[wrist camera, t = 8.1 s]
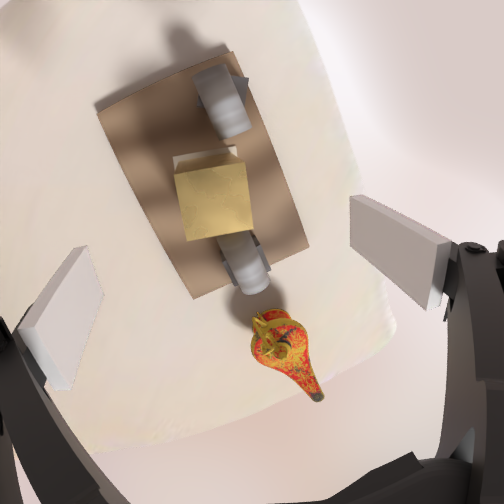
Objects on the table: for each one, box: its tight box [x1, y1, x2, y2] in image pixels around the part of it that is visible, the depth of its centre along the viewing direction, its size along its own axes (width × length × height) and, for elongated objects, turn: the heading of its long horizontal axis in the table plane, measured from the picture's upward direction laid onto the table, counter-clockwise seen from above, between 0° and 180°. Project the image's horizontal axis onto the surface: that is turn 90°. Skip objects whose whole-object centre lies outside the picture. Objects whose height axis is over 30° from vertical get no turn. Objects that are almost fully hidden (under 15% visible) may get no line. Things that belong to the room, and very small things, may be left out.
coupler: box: [174, 152, 254, 241], centre depth 26 cm, size 5×5×8 cm
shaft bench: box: [97, 51, 309, 300], centre depth 28 cm, size 22×14×6 cm, turn 21°
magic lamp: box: [251, 309, 324, 402], centre depth 35 cm, size 7×18×11 cm, turn 31°
